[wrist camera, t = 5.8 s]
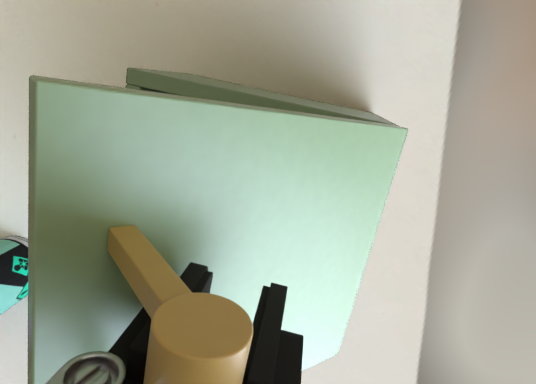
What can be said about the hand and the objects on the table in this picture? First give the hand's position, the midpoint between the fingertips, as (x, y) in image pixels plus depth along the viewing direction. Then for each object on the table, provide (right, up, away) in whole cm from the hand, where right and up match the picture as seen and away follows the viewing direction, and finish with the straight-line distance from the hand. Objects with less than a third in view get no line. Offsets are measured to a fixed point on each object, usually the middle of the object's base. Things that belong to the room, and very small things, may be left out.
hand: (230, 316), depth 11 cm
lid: (0, +1, +3) cm, 3 cm away
